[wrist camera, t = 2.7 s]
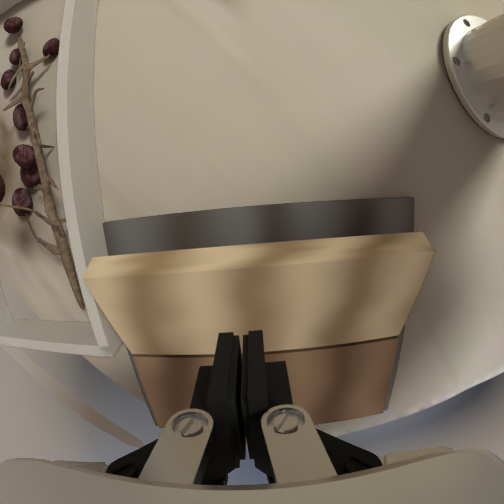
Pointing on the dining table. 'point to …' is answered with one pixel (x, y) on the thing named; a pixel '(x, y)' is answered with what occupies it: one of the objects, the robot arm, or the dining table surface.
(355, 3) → the dining table surface
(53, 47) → the decorative branch
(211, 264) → the oak plank
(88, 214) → the branch tray
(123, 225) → the walnut floor board
